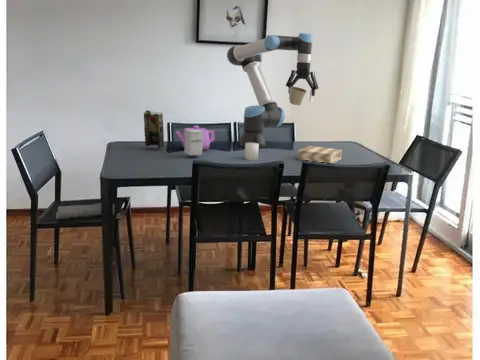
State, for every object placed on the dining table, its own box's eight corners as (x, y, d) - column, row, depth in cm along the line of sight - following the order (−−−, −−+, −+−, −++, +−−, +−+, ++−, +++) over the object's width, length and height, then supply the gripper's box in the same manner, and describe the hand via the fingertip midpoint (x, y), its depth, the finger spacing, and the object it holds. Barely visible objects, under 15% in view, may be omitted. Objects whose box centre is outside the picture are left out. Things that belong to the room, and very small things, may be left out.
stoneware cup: (241, 158, 296) (242, 143, 295) (249, 156, 302) (250, 141, 300) (252, 160, 292) (253, 145, 291) (260, 159, 298) (261, 143, 296)
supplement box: (189, 155, 297) (190, 131, 294) (184, 153, 303) (184, 129, 300) (202, 155, 300) (203, 131, 297) (197, 152, 306) (197, 129, 304)
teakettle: (216, 147, 325) (217, 125, 322) (200, 151, 310) (201, 128, 308) (191, 143, 333) (191, 122, 330) (174, 147, 318) (174, 125, 315)
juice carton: (159, 112, 307) (164, 110, 313) (142, 110, 310) (148, 109, 316) (160, 148, 313) (165, 146, 319) (144, 146, 316) (149, 144, 322)
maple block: (297, 159, 302) (298, 150, 300) (310, 154, 317) (310, 145, 316) (330, 164, 293) (331, 154, 292) (341, 159, 309) (342, 150, 308)
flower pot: (302, 107, 319) (306, 92, 316) (285, 103, 320) (289, 88, 317) (303, 104, 328) (307, 90, 325) (288, 100, 329) (291, 85, 326)
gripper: (281, 60, 321) (278, 98, 326) (319, 63, 306) (316, 103, 311) (288, 60, 327) (286, 98, 331) (326, 63, 312) (323, 102, 317)
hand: (300, 100), depth 321 cm, fingers open, 13 cm apart
